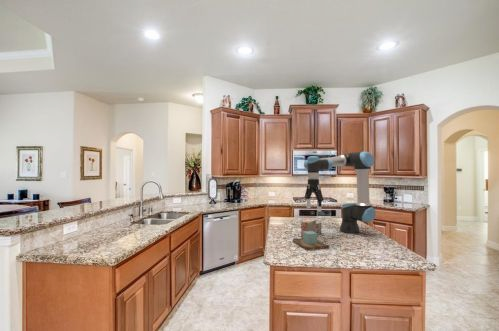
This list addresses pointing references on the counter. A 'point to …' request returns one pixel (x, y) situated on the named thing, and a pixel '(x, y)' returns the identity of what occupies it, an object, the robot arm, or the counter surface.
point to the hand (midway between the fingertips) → (313, 209)
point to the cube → (309, 237)
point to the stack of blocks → (310, 226)
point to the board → (311, 246)
